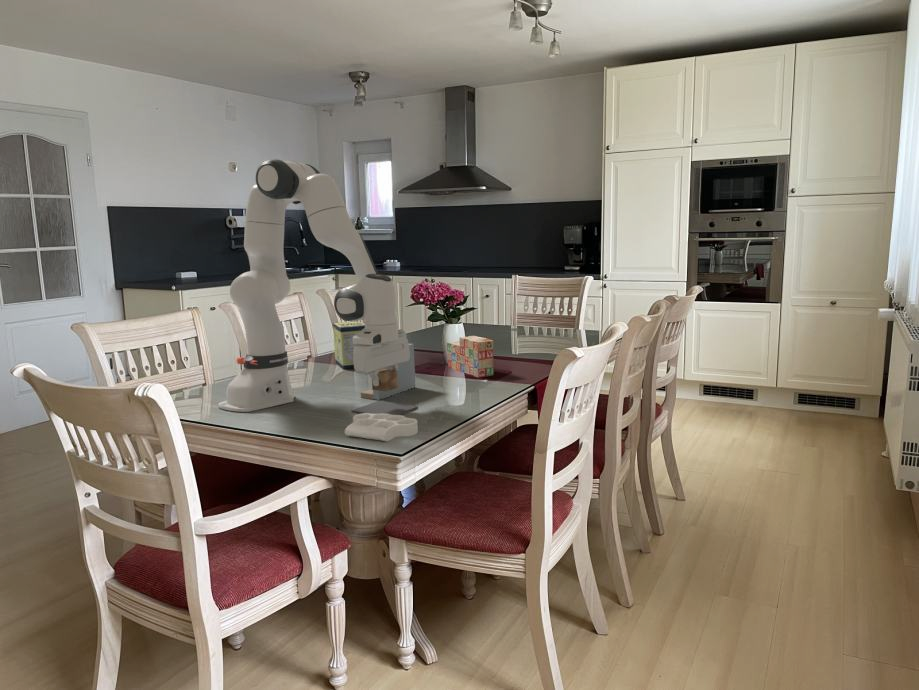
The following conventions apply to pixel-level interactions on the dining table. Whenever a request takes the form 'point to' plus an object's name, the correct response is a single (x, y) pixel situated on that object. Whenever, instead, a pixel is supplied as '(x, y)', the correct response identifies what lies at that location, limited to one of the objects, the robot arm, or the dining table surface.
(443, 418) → the dining table surface
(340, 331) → the protein box
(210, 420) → the dining table surface
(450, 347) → the stack of blocks
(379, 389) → the walnut cube
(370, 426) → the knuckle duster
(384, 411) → the mat
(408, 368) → the pale blue flat slab
